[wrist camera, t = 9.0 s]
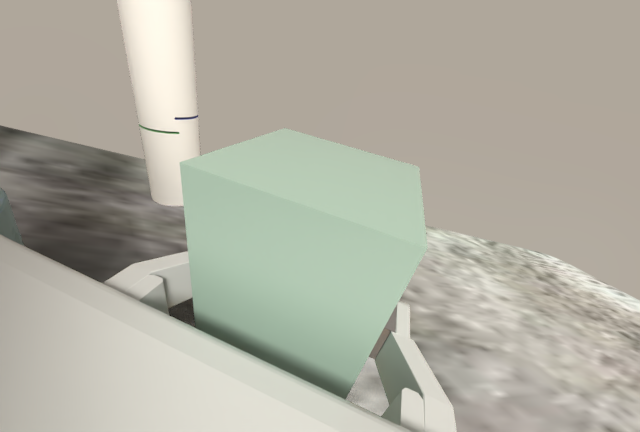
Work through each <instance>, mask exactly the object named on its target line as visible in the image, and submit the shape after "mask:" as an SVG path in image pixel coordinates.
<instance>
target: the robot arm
mask: <svg viewBox="0 0 640 432" xmlns="http://www.w3.org/2000/svg"><path fill="white" fill-rule="evenodd" d="M190 298H192V287H191V276H190V266H189V255H188V251H186V252H182V253H177V254H173V255H169V256H164V257H160V258H156V259H151V260H147V261H143V262H138V263H134V264H132V265H130V266H129V267H127V268H125V269H124V270H122V271H121V272H119V273H118V274H116V275H114V276H113V277H111V278H110V279H108V280H107V281H105V282H103V283H100V282H98V281H96V280H94V279H92V278H90V277H88V276H86V275H84V274H81V273H79V272H77V271H75V270H73V269H71V268H69V267H67V266H65V265H63V264H61V263H58V262H56V261H54V260H52V259H50V258H48V257H46V256H44V255H42V254H40V253H38V252H35V251H33V250H31V249H29V248H27V247H25V246H23V245H21V244H19V243H17V242H15V241H12V240H10V239H8V238H6V237H4V236H2V235H0V432H456V424H455V417H454V409H453V406H452V405H451V403H450V401H449V400H448V398H447V396H446V395H445V393H444V391H443V389H442V388H441V386H440V384H439V383H438V381H437V379H436V378H435V376H434V374H433V372H432V371H431V369H430V367H429V366H428V364H427V362H426V360H425V359H424V357H423V355H422V354H421V352H420V350H419V349H418V347H417V345H416V343H415V342H414V341H413V340H411V339H410V306H409V304H407V303H404V302H401V301H398V303H397V305H396V307H395V309H394V311H393V312H392V314H391V316H390V318H389V320H388V322H387V323H386V325H385V327H384V329H383V331H382V333H381V334H380V336H379V338H378V340H377V342H376V344H375V346H374V347H373V349H372V351H371V353H370V355H369V357H371V358H373V359H375V363H376V366H377V369H378V372H379V375H380V378H381V381H382V384H383V387H384V390H385V393H386V396H387V399H388V402H389V405H390V406H389V407H388V408H387V410H386V411H385V412H384V414H383V415H382V416H379V415H377V414H375V413H372V412H370V411H368V410H366V409H364V408H362V407H360V406H358V405H356V404H354V403H352V402H349V401H347V400H345V399H343V398H341V397H339V396H337V395H335V394H333V393H331V392H328V391H326V390H324V389H322V388H320V387H318V386H316V385H314V384H312V383H310V382H308V381H305V380H303V379H301V378H299V377H297V376H295V375H293V374H291V373H289V372H287V371H284V370H282V369H280V368H278V367H276V366H274V365H272V364H270V363H268V362H266V361H263V360H261V359H259V358H257V357H255V356H253V355H251V354H249V353H247V352H245V351H243V350H240V349H238V348H236V347H234V346H232V345H230V344H228V343H226V342H224V341H222V340H220V339H217V338H215V337H213V336H211V335H209V334H207V333H205V332H203V331H201V330H199V329H196V328H194V327H192V326H190V325H188V324H186V323H184V322H182V321H180V320H178V319H176V318H173V317H171V316H169V311H168V308H170V307H172V306H174V305H177V304H179V303H181V302H183V301H185V300H188V299H190Z"/></svg>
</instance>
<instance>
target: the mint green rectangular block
mask: <svg viewBox="0 0 640 432" xmlns="http://www.w3.org/2000/svg"><path fill="white" fill-rule="evenodd" d="M180 173H181V183H182V193H183V204H184V214H185V224H186V235H187V245H188V255H189V266H190V276H191V287H192V297H193V307H194V318H195V328H196V329H199V330H201V331H203V332H205V333H207V334H209V335H211V336H213V337H215V338H217V339H220V340H222V341H224V342H226V343H228V344H230V345H232V346H234V347H236V348H238V349H240V350H243V351H245V352H247V353H249V354H251V355H253V356H255V357H257V358H259V359H261V360H263V361H266V362H268V363H270V364H272V365H274V366H276V367H278V368H280V369H282V370H284V371H287V372H289V373H291V374H293V375H295V376H297V377H299V378H301V379H303V380H305V381H308V382H310V383H312V384H314V385H316V386H318V387H320V388H322V389H324V390H326V391H328V392H331V393H333V394H335V395H337V396H339V397H341V398H343V399H346V397H347V395H348V393H349V392H350V390H351V388H352V386H353V384H354V382H355V380H356V379H357V377H358V375H359V373H360V371H361V369H362V368H363V366H364V364H365V362H366V360H367V358H368V357H369V355H370V353H371V351H372V349H373V347H374V346H375V344H376V342H377V340H378V338H379V336H380V334H381V333H382V331H383V329H384V327H385V325H386V323H387V322H388V320H389V318H390V316H391V314H392V312H393V311H394V309H395V307H396V305H397V303H398V301H399V300H400V298H401V296H402V294H403V292H404V290H405V288H406V287H407V285H408V283H409V281H410V279H411V277H412V276H413V274H414V272H415V270H416V268H417V266H418V265H419V263H420V261H421V259H422V257H423V255H424V254H425V252H426V250H427V238H426V229H425V219H424V210H423V200H422V190H421V181H420V171H419V167H417V166H414V165H411V164H407V163H404V162H400V161H397V160H393V159H390V158H386V157H383V156H380V155H376V154H372V153H369V152H366V151H362V150H359V149H355V148H352V147H349V146H345V145H342V144H338V143H335V142H331V141H328V140H324V139H321V138H318V137H314V136H311V135H307V134H304V133H300V132H297V131H293V130H290V129H287V128H284V129H281V130H278V131H275V132H272V133H269V134H266V135H262V136H260V137H256V138H253V139H250V140H247V141H244V142H241V143H238V144H235V145H232V146H228V147H225V148H223V149H219V150H216V151H213V152H210V153H207V154H204V155H201V156H198V157H194V158H191V159H188V160H185V161H182V162H180Z"/></svg>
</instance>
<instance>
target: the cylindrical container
mask: <svg viewBox="0 0 640 432" xmlns="http://www.w3.org/2000/svg"><path fill="white" fill-rule="evenodd" d="M116 1H117V5H118V11H119V17H120V23H121V28H122V34H123V40H124V45H125V50H126V56H127V61H128V67H129V72H130V78H131V84H132V89H133V95H134V101H135V106H136V112H137V117H138V123H139V129H140V134H141V140H142V145H143V151H144V156H145V162H146V168H147V173H148V179H149V184H150V190H151V195H152V199H153V200H154V201H155V202H156V203H159V204H162V205H166V206H184V204H183V193H182V183H181V173H180V162H182V161H185V160H188V159H191V158H194V157H198V156H201V152H200V137H199V120H198V103H197V87H196V70H195V53H194V38H193V21H192V5H191V1H189V0H116Z"/></svg>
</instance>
